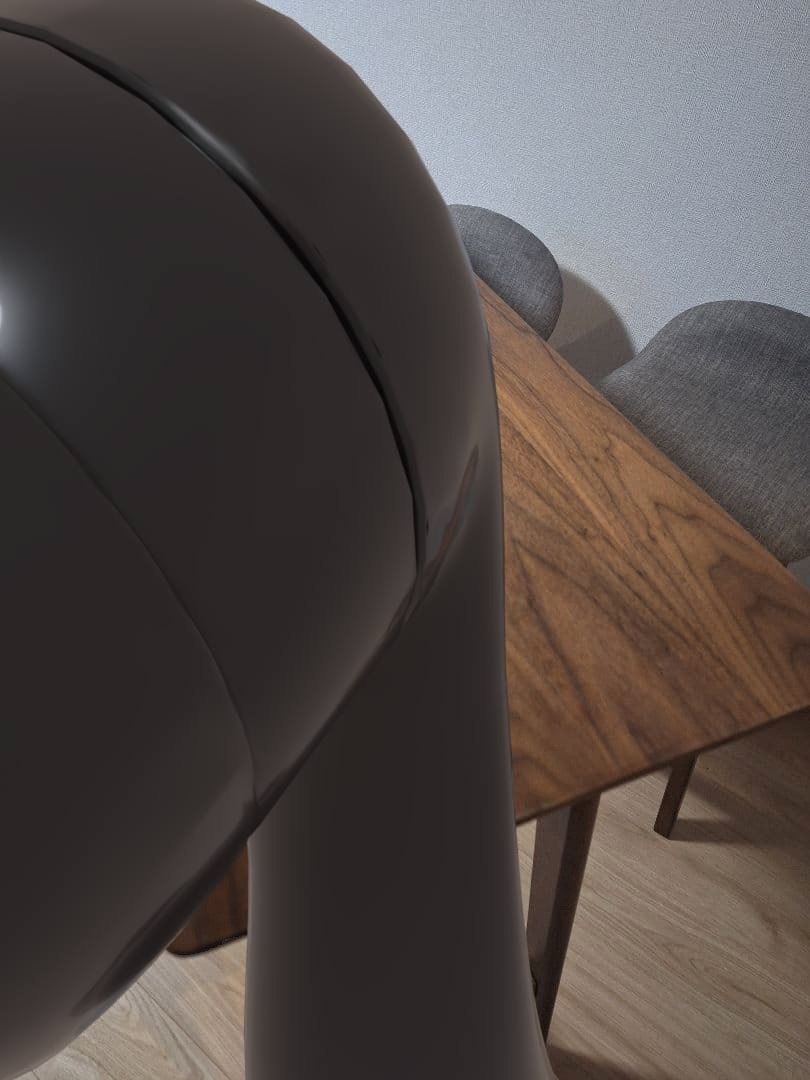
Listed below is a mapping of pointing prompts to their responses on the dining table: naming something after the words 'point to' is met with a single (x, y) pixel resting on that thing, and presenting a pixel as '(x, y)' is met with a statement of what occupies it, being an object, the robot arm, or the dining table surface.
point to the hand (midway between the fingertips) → (267, 581)
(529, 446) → the dining table surface
